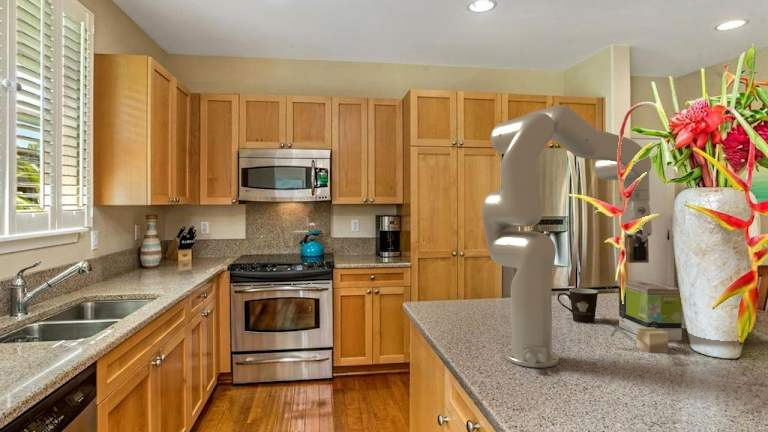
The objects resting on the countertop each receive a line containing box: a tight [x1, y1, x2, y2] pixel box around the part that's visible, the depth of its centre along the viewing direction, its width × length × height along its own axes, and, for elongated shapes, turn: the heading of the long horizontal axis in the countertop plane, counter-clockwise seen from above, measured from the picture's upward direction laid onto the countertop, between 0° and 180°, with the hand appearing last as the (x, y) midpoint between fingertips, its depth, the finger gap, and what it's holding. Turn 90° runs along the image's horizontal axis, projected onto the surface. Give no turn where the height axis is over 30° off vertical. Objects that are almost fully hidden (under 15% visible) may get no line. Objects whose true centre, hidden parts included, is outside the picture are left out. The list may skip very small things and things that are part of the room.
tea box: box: [618, 280, 683, 342], centre depth 123 cm, size 15×10×15 cm, turn 179°
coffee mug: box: [556, 287, 599, 324], centre depth 139 cm, size 12×9×10 cm
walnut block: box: [624, 236, 650, 264], centre depth 122 cm, size 5×5×7 cm
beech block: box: [635, 327, 669, 354], centre depth 110 cm, size 5×5×5 cm
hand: (635, 258), depth 122 cm, fingers closed on walnut block, 5 cm apart
